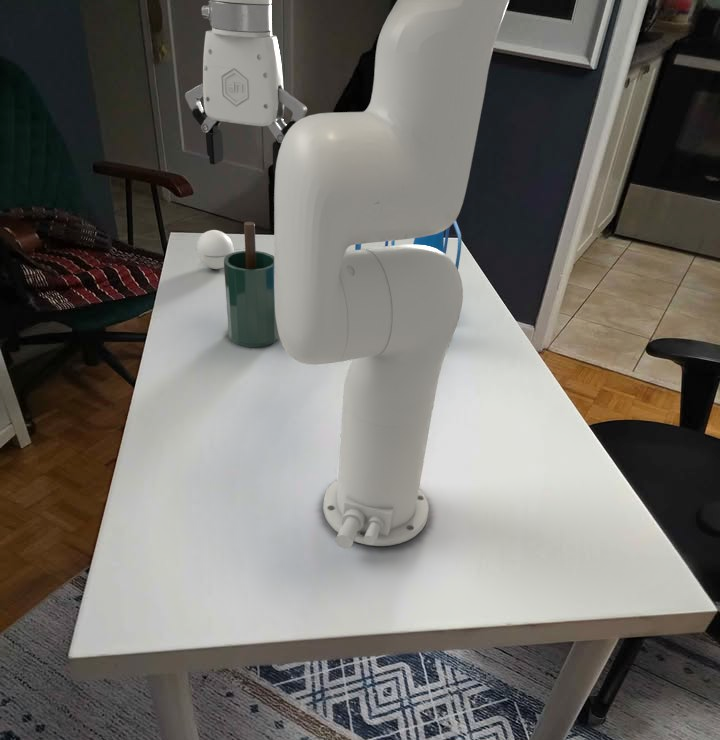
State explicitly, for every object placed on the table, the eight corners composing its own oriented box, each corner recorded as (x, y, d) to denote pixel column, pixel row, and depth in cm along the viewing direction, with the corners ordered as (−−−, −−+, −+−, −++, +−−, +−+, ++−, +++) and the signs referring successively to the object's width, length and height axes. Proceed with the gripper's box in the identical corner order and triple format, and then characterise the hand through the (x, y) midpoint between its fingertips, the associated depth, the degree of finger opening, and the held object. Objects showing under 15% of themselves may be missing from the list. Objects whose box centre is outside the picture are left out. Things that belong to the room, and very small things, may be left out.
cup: (266, 351, 106) (264, 274, 97) (220, 341, 107) (214, 264, 99) (285, 330, 112) (284, 255, 104) (241, 321, 113) (237, 247, 105)
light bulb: (195, 274, 127) (191, 236, 123) (201, 260, 133) (197, 223, 128) (246, 277, 128) (244, 239, 123) (250, 262, 134) (248, 226, 129)
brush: (259, 339, 107) (256, 229, 96) (237, 334, 108) (231, 225, 97) (269, 329, 110) (266, 221, 99) (247, 324, 111) (242, 217, 100)
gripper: (164, 15, 80) (180, 164, 91) (295, 28, 77) (295, 181, 88) (193, 13, 86) (204, 153, 97) (316, 25, 83) (314, 169, 93)
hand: (247, 166), depth 92 cm, fingers open, 9 cm apart
